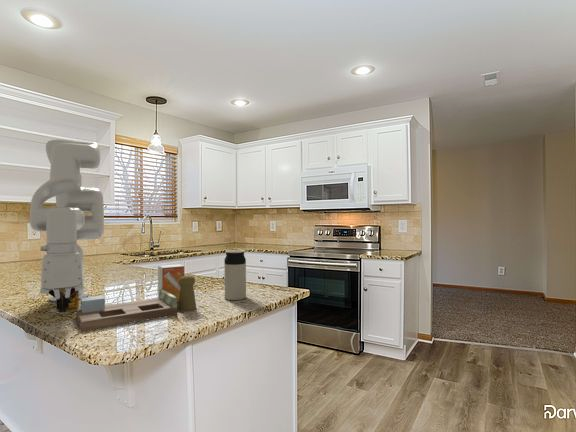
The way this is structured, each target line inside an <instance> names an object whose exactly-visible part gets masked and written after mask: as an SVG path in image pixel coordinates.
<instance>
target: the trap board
mask: <svg viewBox="0 0 576 432" xmlns="http://www.w3.org/2000/svg"><path fill="white" fill-rule="evenodd" d="M177 315H178V302H177V297H175V296H174V295H172V294H170V293H169V292H167V291H165V290H163V289H159V298H158V297H155V298H148V299H142V300H141V299H140V300H135V301H127V302H126V301H125V302H119V303H113V304H105V310H100V311H93V312H86V313H82V311H81V309H77V311H76V319H77V322H78V324H79V327H80V330H81V332H84V331H90V330H96V329H101V328H108V327H113V326H119V324H120V325H124V324H123V323H126V324H130V323H129V322H132V323H135V322H134V321H138V322H142V320H144V321H148V320H147V319H149V320H154V319H153V318H155V319H160V318H159V317H161V318H165V316H167V317H172V316H177Z"/></svg>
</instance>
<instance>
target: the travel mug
mask: <svg viewBox="0 0 576 432" xmlns="http://www.w3.org/2000/svg"><path fill="white" fill-rule="evenodd" d="M224 252H225V258H224V299H225V300H228V301H241V300H244V299H245V298H246V297H247V260H246V257H245V252H246V250H245V249H227V250H224Z"/></svg>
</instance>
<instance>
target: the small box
mask: <svg viewBox="0 0 576 432" xmlns="http://www.w3.org/2000/svg"><path fill="white" fill-rule="evenodd" d="M183 276H185V265H183V264H180V263H179V264H165V265H158V266H157V298H159V289H163V290H165V291H167V292H169V293H170V294H172V295H174V296H175V297H177V303H179V295H180V287H181V286H180V285H179V279H180V278H181V277H183Z"/></svg>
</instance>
